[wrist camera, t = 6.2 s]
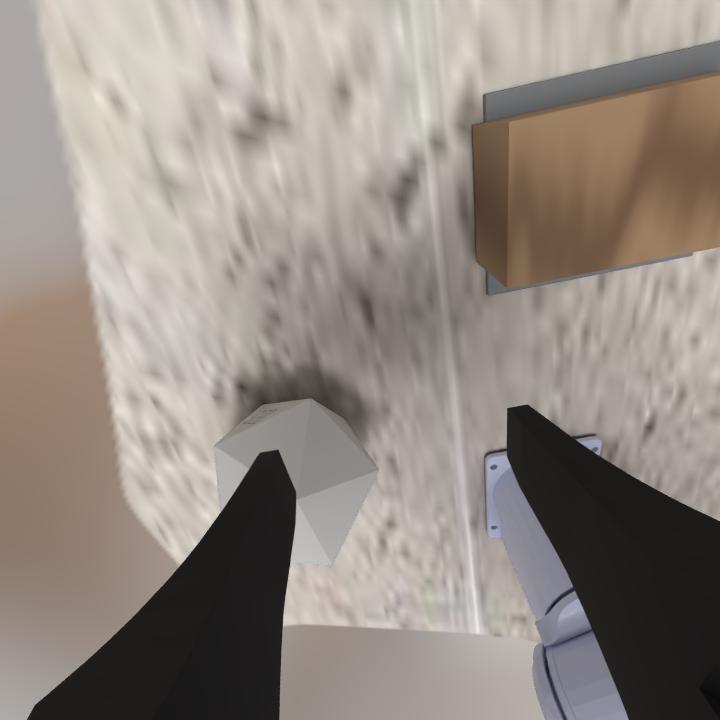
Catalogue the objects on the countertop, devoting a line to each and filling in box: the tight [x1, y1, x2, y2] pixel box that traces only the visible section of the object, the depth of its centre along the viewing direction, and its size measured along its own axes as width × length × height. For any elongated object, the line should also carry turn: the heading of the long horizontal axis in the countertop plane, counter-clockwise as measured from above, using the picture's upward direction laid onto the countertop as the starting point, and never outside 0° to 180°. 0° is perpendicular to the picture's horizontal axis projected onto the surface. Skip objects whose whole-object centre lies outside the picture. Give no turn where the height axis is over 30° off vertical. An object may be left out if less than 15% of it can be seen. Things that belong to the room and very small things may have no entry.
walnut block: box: [473, 70, 720, 289], centre depth 16 cm, size 6×4×10 cm
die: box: [214, 398, 379, 566], centre depth 21 cm, size 8×9×10 cm
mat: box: [484, 41, 720, 296], centre depth 18 cm, size 9×11×1 cm
